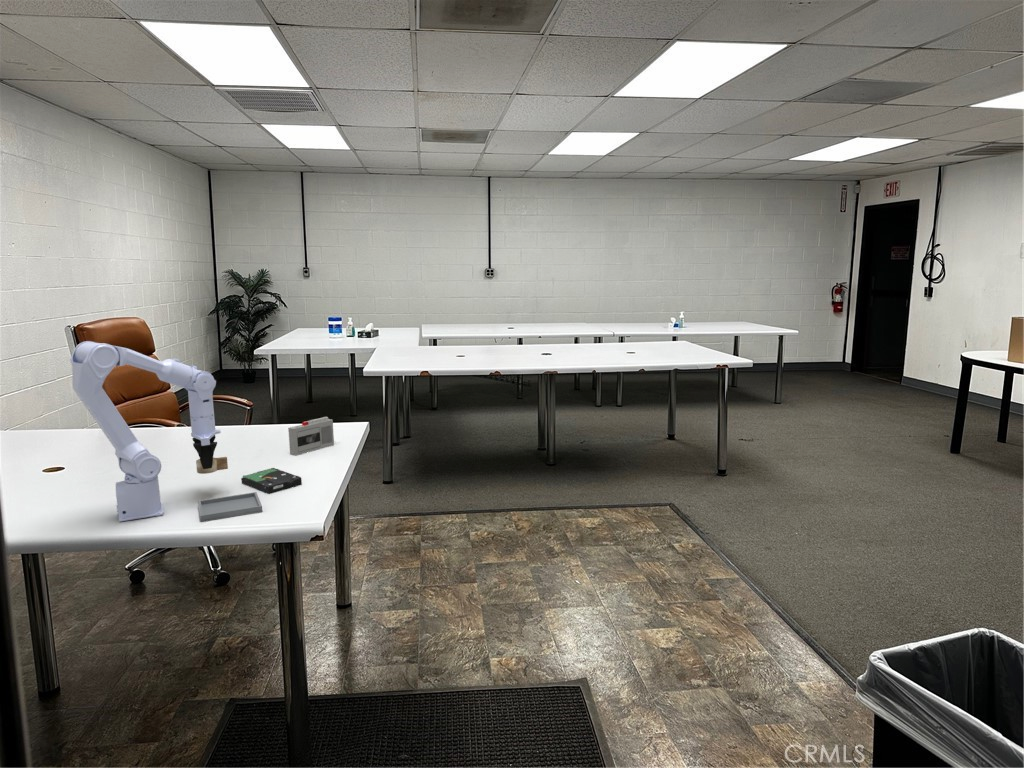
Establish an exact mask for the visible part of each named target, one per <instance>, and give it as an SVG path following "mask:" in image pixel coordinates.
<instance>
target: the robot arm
mask: <svg viewBox="0 0 1024 768" xmlns="http://www.w3.org/2000/svg"><path fill="white" fill-rule="evenodd" d="M73 349H74V350H73V352H72V354H71V356H70V359H69V361H70V363H71V368H72V369H71V370H72V371H71V372H72V375H71V376H72V388H73V391H74V392H75V394H76V396H78V398H79V399H80V401H81V402H82V404H83V405H84V407H85V408H86V409H87V411H88V412H89V414H90V415H91V416H92V418H93V419H94V421H95V422H96V424H97V425H98V427H99V428H100V429H101V430H102V432H103V434H104V436H105V437H106V438H107V440H108V441H109V442H110V444H111V445H112V447H113V448H114V450H115V452H114V455H115V456H116V458H117V460H118V466H119V467H118V468H119V469H120V471H121V472H122V473H124V480H122V481H116V482H115V497H116V512H117V515H118V522H125V521H126V522H127V521H132V520H139V519H145V518H153V517H158V516H163V515H164V503H162V501H161V492H160V484H159V474H160V473H161V470H162V462H161V460H160V459H159V457H157V456H156V455H154V454H152V453H151V452H150V451H149V450H148V448H147V447H146V446H144V445H143V443H141V442H140V440H138V438H137V437H136V436H135V434H134V433H133V432H132V430H131V428H130V427H129V425H128V424H127V422H126V421H125V419H124V418H123V416H122V414H121V413H120V412H119V410H118V409H117V408H116V405H115V404H114V403H113V401H112V400H111V399H110V397H109V396H108V394H107V392H106V391H105V389H104V388H103V385H104V382H105V381H106V378H107V376H108V375H109V374H110V373H111V372H112V371H113V370H114V368H115V367H116V366H117V367H122V366H126V365H128V366H131V367H134V368H138V369H141V370H145V371H147V372H151V373H154V374H156V376H157V378H158V379H159V380H160V381H161V382H164V383H167V384H171V385H173V386H176V387H180V388H182V389H185V390H186V391H187V395H188V396H187V397H188V405H189V406H188V407H189V418H190V429H191V433H190V436H191V437H192V438H191V439H192V441H193V442H192V445H193V448H194V449H195V451H196V452H197V455H198V457H199V459H200V461H201V465H202V467H203V469H209V468H212V464H213V457H214V455H215V450H216V448H217V445H218V441H215V440H216V435H217V434H218V435H219V434H221V429H216V421H215V410H214V398H213V397H214V396H213V395H214V394H213V391H214V389H215V388H216V385H217V380H216V379H215V378H214V375H212V373H210V372H209V371H206V370H200V369H197V368H198V366H195V365H191V366H190V365H187V364H184V363H182V362H181V360H180V359H178V358H172V359H171V358H168V359H164V360H162V361H161V360H158V359H156V358H153V357H150V356H148V355H145V354H143V353H142V352H138V351H135V350H133V349H130V348H127V347H122V346H118V345H117V346H116V345H111V344H109V343H104V342H103V343H102V342H101V343H100V342H96V341H91V340H86V341H82V342H80V343H79V344H77V345H76V346H75V348H73Z"/></svg>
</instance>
